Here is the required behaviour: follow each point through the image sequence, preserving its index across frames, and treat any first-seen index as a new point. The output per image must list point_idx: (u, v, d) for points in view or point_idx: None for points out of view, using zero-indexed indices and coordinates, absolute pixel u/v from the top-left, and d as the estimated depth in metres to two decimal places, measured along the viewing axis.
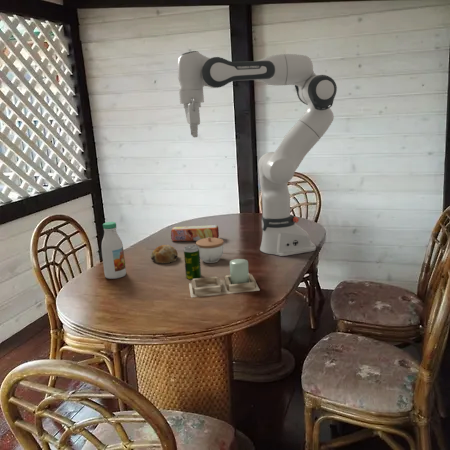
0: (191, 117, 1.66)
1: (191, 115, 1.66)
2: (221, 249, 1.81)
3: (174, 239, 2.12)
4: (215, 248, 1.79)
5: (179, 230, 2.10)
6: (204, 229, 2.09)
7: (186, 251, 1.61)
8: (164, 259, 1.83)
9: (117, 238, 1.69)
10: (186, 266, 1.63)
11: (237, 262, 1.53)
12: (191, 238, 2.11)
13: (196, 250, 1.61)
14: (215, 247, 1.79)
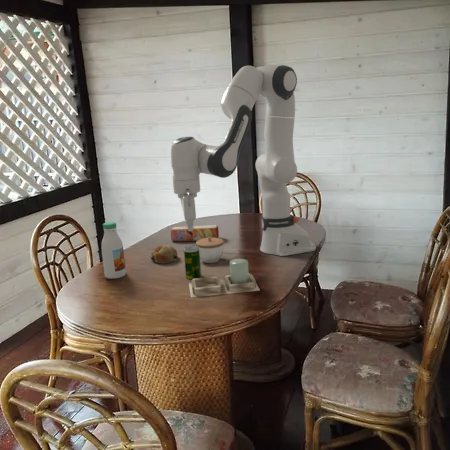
0: (186, 213, 1.49)
1: (186, 210, 1.49)
2: (221, 249, 1.81)
3: (174, 239, 2.11)
4: (215, 248, 1.79)
5: (179, 230, 2.10)
6: (204, 229, 2.09)
7: (186, 251, 1.61)
8: (163, 259, 1.83)
9: (117, 238, 1.69)
10: (186, 266, 1.63)
11: (237, 262, 1.53)
12: (191, 238, 2.10)
13: (196, 250, 1.61)
14: (215, 247, 1.79)
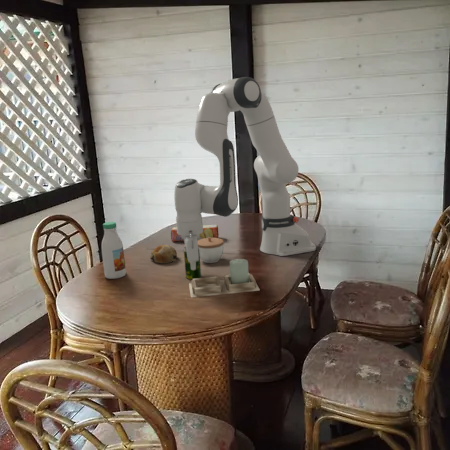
0: (189, 255, 1.53)
1: (189, 253, 1.53)
2: (221, 249, 1.81)
3: (174, 239, 2.11)
4: (215, 248, 1.79)
5: None
6: (204, 229, 2.09)
7: None
8: (163, 259, 1.83)
9: (117, 238, 1.69)
10: (186, 266, 1.63)
11: (237, 262, 1.53)
12: None
13: None
14: (215, 247, 1.79)
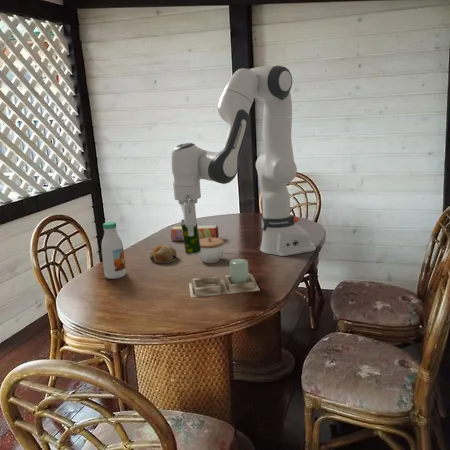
0: (186, 219, 1.50)
1: (186, 217, 1.50)
2: (221, 249, 1.81)
3: (174, 239, 2.12)
4: (215, 248, 1.79)
5: (179, 230, 2.11)
6: (203, 229, 2.09)
7: (183, 224, 1.58)
8: (162, 259, 1.83)
9: (117, 238, 1.69)
10: (185, 239, 1.60)
11: (237, 262, 1.53)
12: None
13: None
14: (215, 247, 1.79)
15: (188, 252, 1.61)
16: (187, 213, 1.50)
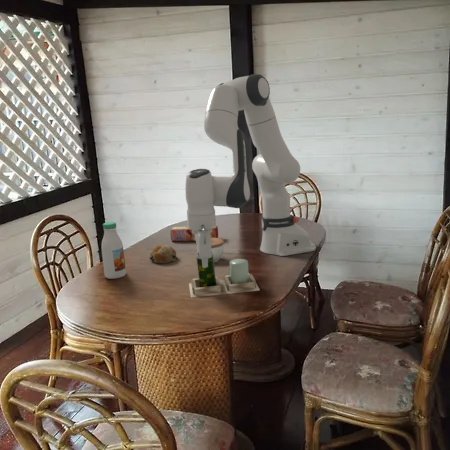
0: (201, 251, 1.41)
1: (201, 249, 1.40)
2: (221, 249, 1.81)
3: (173, 239, 2.12)
4: (215, 248, 1.79)
5: (178, 230, 2.10)
6: None
7: (199, 258, 1.49)
8: (162, 259, 1.83)
9: (117, 238, 1.69)
10: (200, 274, 1.51)
11: (237, 262, 1.53)
12: (190, 238, 2.10)
13: None
14: (215, 247, 1.79)
15: None
16: (202, 244, 1.40)
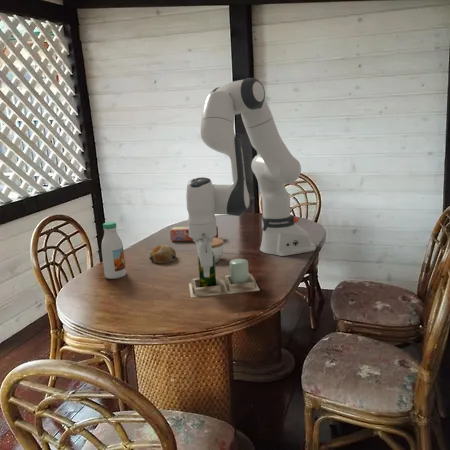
0: (203, 260, 1.41)
1: (203, 257, 1.41)
2: (221, 249, 1.81)
3: (173, 239, 2.11)
4: (215, 248, 1.79)
5: (178, 230, 2.10)
6: None
7: None
8: (162, 259, 1.83)
9: (117, 238, 1.69)
10: (200, 274, 1.51)
11: (237, 262, 1.53)
12: (190, 239, 2.10)
13: None
14: (215, 247, 1.79)
15: None
16: (203, 253, 1.41)
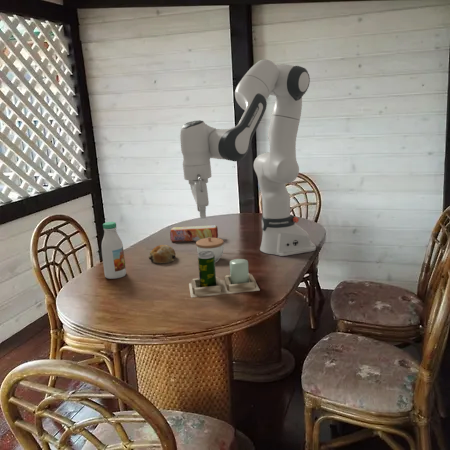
0: (198, 199, 1.45)
1: (198, 196, 1.45)
2: (221, 249, 1.81)
3: (173, 239, 2.11)
4: (215, 248, 1.79)
5: (178, 230, 2.10)
6: (203, 229, 2.09)
7: (201, 257, 1.50)
8: (161, 259, 1.83)
9: (117, 238, 1.69)
10: (200, 274, 1.51)
11: (237, 262, 1.53)
12: (190, 239, 2.10)
13: (211, 256, 1.50)
14: (215, 247, 1.79)
15: None
16: (199, 192, 1.44)
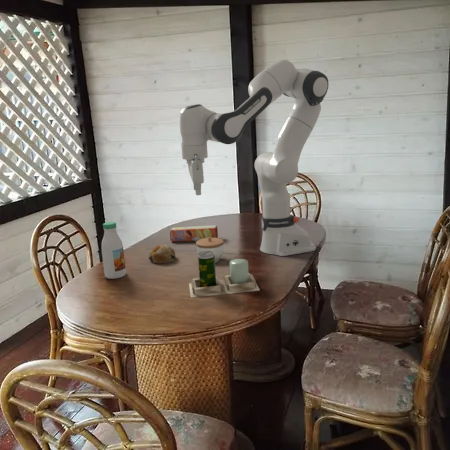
0: (194, 176, 1.56)
1: (194, 174, 1.56)
2: (221, 249, 1.81)
3: (173, 240, 2.11)
4: (215, 248, 1.79)
5: (178, 231, 2.10)
6: (203, 229, 2.09)
7: (201, 257, 1.50)
8: (161, 259, 1.84)
9: (117, 238, 1.69)
10: (201, 274, 1.51)
11: (237, 262, 1.53)
12: (190, 239, 2.10)
13: (211, 256, 1.50)
14: (215, 247, 1.79)
15: None
16: (195, 170, 1.56)
